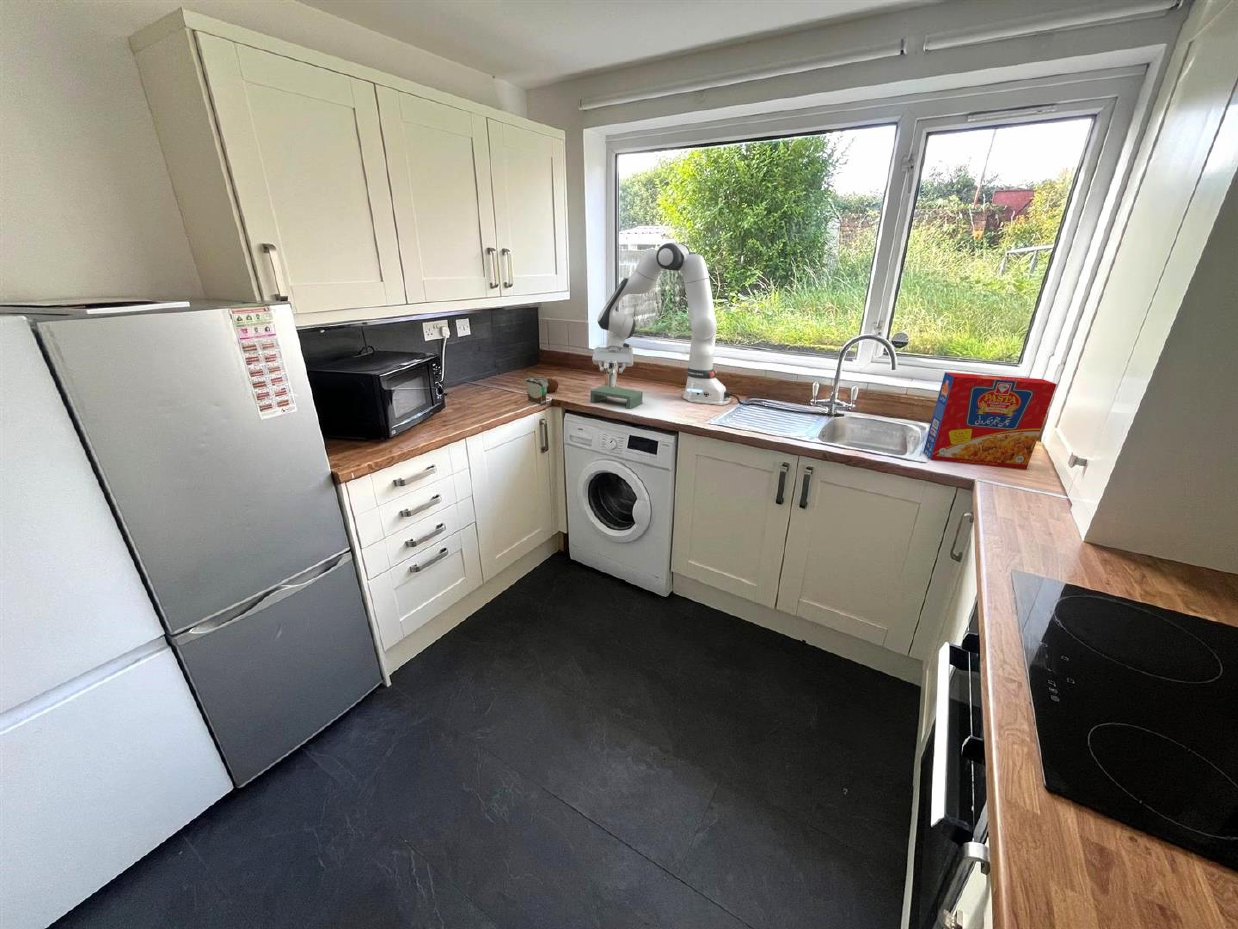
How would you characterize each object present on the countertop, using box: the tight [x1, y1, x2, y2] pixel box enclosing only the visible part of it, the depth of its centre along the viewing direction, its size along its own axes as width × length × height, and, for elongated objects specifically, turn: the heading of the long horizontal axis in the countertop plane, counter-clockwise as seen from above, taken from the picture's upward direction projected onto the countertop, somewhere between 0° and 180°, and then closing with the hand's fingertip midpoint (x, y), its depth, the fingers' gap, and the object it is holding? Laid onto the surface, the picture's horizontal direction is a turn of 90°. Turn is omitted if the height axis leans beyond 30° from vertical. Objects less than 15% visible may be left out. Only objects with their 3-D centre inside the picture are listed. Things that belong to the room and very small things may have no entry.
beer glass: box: [603, 360, 619, 387], centre depth 240 cm, size 7×7×15 cm
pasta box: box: [922, 371, 1058, 471], centre depth 162 cm, size 28×8×28 cm, turn 76°
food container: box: [525, 377, 548, 406], centre depth 218 cm, size 12×6×10 cm, turn 46°
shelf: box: [589, 385, 644, 410], centre depth 222 cm, size 20×12×6 cm, turn 61°
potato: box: [545, 378, 559, 393], centre depth 238 cm, size 6×12×6 cm, turn 151°
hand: (610, 371), depth 240 cm, fingers open, 8 cm apart
